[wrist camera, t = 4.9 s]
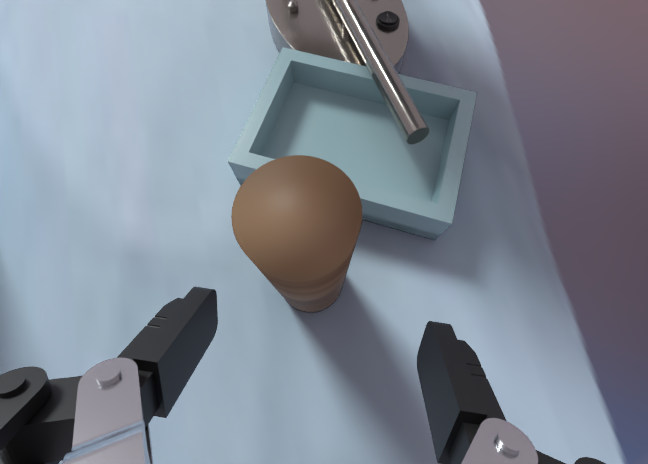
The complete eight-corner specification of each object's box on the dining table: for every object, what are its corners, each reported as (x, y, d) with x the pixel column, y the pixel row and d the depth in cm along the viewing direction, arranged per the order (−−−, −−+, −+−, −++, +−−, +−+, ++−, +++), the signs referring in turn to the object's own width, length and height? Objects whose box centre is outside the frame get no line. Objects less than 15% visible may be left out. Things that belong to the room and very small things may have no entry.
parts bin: (435, 240, 21) (451, 223, 18) (240, 184, 22) (227, 161, 19) (459, 121, 24) (477, 92, 21) (287, 80, 25) (282, 47, 23)
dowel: (332, 321, 19) (340, 293, 9) (270, 300, 20) (209, 252, 9) (350, 260, 20) (376, 173, 10) (292, 242, 21) (260, 142, 10)
